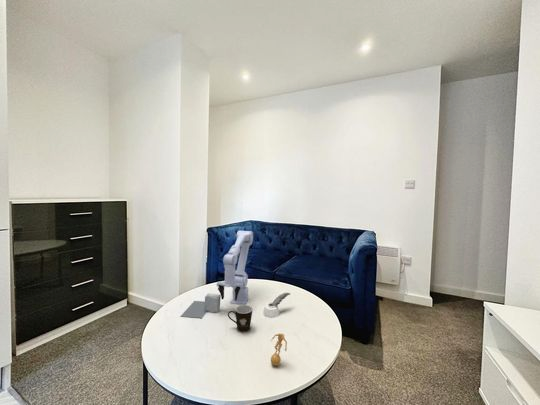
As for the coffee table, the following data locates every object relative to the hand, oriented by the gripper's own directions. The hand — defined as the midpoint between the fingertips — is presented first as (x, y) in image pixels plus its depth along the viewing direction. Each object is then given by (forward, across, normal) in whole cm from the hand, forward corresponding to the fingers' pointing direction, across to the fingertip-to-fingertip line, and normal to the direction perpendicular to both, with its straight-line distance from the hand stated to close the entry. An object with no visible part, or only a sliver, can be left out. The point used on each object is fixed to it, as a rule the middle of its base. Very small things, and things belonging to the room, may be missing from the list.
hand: (229, 299), depth 133 cm
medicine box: (+7, -10, 0) cm, 12 cm away
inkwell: (+8, +27, +5) cm, 29 cm away
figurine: (+8, +30, -36) cm, 47 cm away
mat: (+7, -18, 0) cm, 20 cm away
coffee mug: (+8, +10, -14) cm, 19 cm away
